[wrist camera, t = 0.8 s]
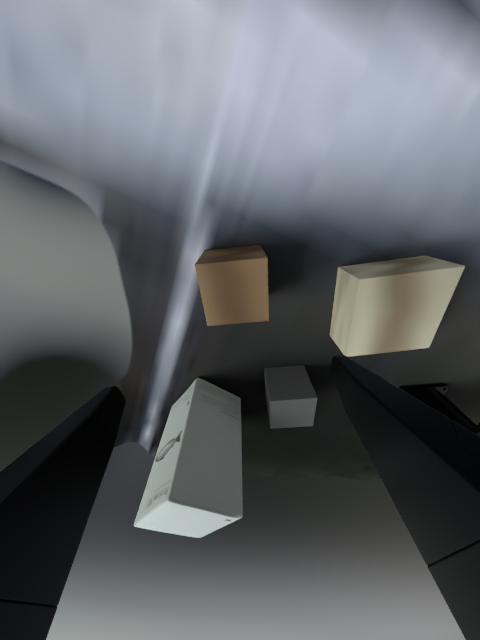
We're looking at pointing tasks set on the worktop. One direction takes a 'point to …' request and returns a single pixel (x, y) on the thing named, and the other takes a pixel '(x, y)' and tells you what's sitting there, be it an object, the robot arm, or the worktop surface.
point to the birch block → (391, 304)
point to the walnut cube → (234, 285)
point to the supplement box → (196, 466)
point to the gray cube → (289, 397)
